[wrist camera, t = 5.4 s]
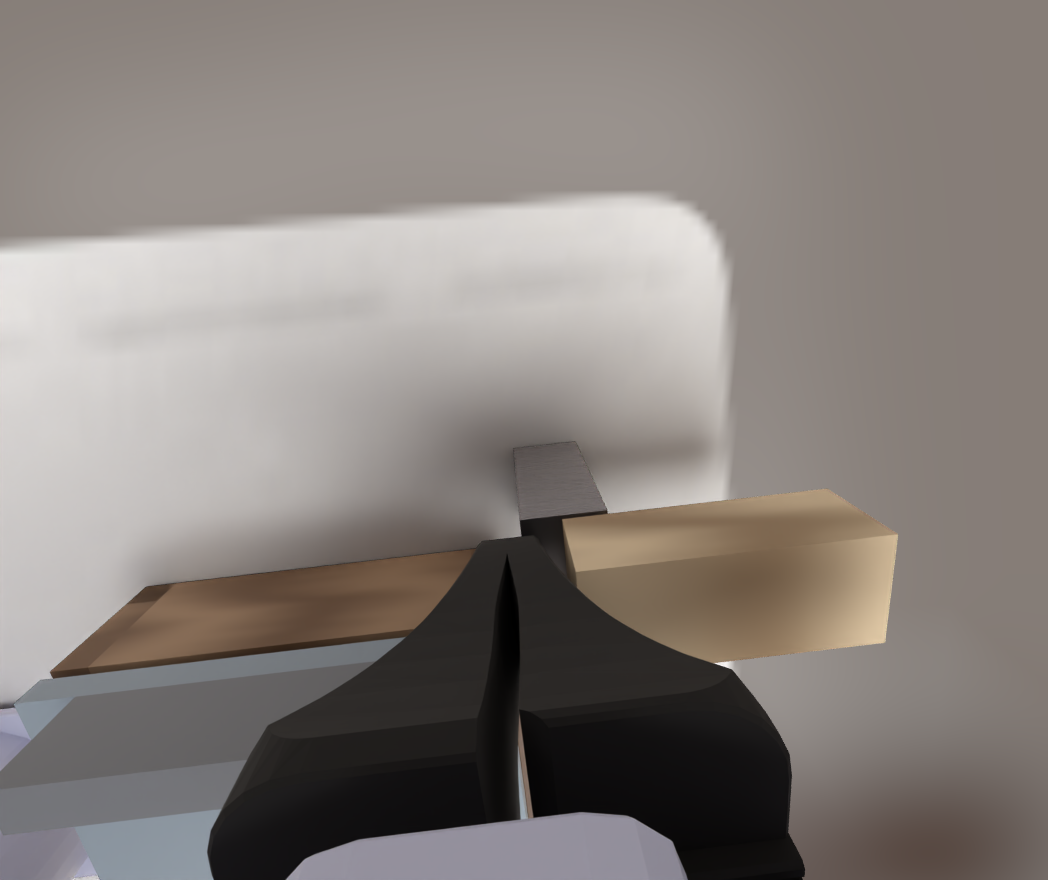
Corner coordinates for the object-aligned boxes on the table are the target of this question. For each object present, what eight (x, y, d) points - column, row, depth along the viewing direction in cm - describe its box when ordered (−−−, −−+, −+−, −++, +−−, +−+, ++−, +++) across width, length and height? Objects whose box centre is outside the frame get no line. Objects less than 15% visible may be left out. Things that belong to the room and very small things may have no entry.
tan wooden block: (570, 610, 12) (584, 678, 10) (562, 519, 12) (575, 572, 10) (820, 581, 13) (884, 642, 10) (827, 488, 12) (897, 534, 10)
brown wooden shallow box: (265, 910, 23) (217, 1040, 19) (146, 586, 18) (49, 671, 14) (544, 876, 23) (553, 997, 19) (500, 545, 18) (501, 618, 14)
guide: (521, 516, 18) (530, 610, 13) (513, 448, 17) (519, 519, 12) (580, 509, 18) (613, 600, 13) (575, 441, 17) (607, 510, 12)
